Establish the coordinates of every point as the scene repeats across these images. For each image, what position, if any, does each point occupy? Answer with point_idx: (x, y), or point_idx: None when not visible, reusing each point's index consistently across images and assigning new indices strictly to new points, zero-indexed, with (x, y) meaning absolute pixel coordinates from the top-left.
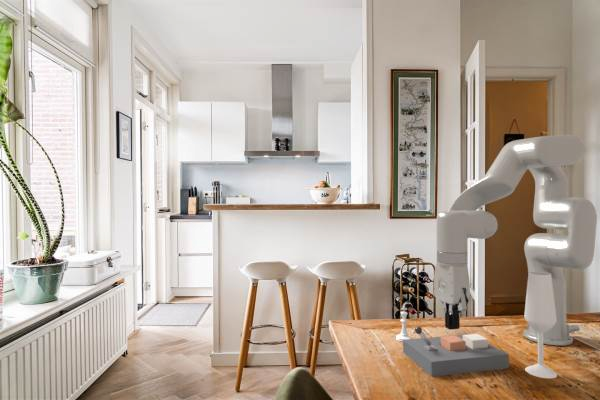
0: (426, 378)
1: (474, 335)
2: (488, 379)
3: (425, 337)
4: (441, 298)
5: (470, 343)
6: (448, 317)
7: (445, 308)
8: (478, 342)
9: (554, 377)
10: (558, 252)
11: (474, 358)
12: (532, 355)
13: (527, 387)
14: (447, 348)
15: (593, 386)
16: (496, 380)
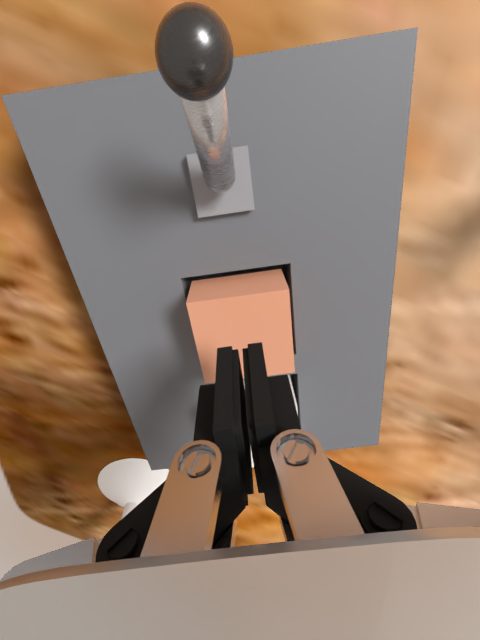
0: (19, 61)
1: None
2: (63, 338)
3: (193, 139)
4: (272, 588)
5: None
6: (215, 408)
7: (287, 466)
8: None
9: (104, 494)
10: None
11: (105, 351)
12: (252, 513)
13: (24, 415)
14: (215, 281)
15: (65, 532)
16: (59, 359)
